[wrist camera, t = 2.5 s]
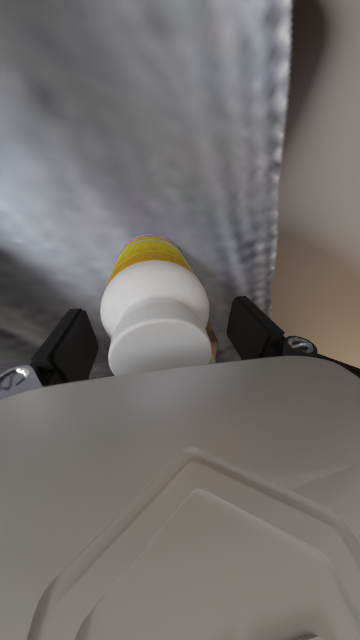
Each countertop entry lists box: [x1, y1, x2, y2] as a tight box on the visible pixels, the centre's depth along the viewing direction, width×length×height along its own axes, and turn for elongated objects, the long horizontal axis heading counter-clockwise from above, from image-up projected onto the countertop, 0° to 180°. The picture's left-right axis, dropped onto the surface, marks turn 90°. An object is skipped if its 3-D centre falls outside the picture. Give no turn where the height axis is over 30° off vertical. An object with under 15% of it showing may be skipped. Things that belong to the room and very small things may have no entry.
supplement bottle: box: [100, 234, 212, 376], centre depth 13 cm, size 7×7×13 cm
